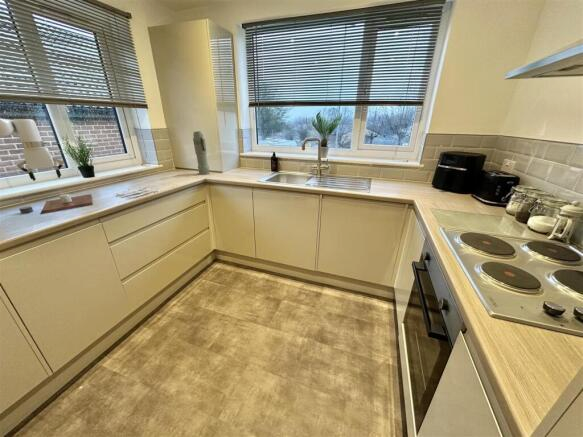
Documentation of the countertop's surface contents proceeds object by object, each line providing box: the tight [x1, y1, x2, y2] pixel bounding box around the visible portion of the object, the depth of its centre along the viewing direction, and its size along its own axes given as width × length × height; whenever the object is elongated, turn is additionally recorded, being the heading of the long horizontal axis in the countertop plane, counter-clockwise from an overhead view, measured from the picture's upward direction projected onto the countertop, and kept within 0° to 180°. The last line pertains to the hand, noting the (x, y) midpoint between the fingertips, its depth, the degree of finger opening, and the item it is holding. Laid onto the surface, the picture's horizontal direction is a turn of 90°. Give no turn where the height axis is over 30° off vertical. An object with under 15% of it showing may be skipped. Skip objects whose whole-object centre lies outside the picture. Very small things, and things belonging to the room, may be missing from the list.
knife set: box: [114, 181, 178, 199], centre depth 161 cm, size 26×35×1 cm
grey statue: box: [192, 130, 210, 176], centre depth 203 cm, size 9×12×35 cm
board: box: [39, 193, 94, 215], centre depth 136 cm, size 22×22×2 cm
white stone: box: [59, 193, 72, 203], centre depth 135 cm, size 4×4×4 cm
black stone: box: [18, 205, 34, 215], centre depth 121 cm, size 4×4×4 cm
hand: (47, 178), depth 127 cm, fingers open, 9 cm apart
